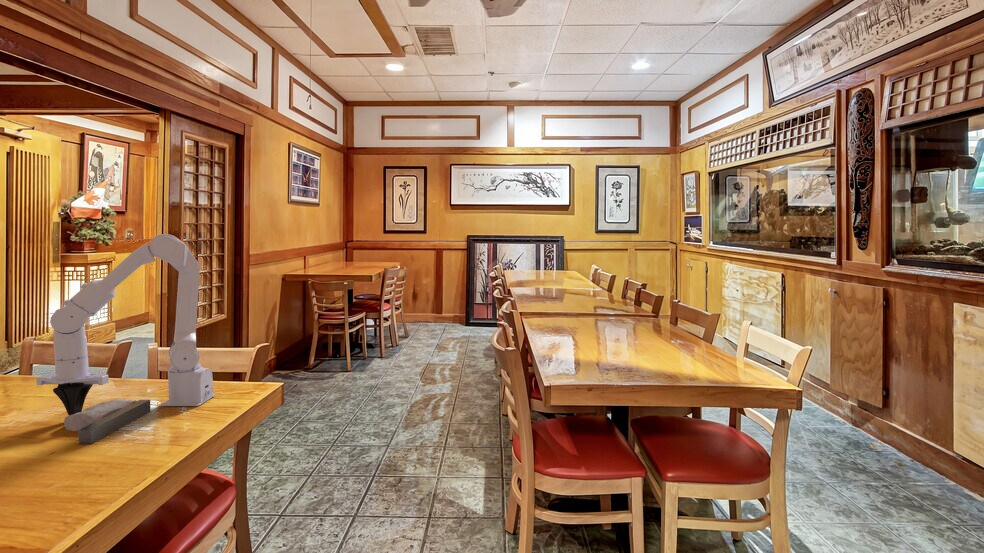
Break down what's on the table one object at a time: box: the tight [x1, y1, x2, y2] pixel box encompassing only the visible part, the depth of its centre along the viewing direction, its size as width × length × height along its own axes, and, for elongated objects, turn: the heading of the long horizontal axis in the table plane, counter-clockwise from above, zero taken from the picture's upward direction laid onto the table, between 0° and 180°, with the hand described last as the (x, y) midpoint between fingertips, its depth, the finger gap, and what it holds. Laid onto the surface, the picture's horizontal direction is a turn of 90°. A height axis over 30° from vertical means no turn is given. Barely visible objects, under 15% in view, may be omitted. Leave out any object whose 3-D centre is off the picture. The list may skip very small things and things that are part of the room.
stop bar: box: [77, 399, 152, 445], centre depth 104 cm, size 2×18×3 cm, turn 3°
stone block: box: [63, 398, 138, 432], centre depth 107 cm, size 12×5×10 cm
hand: (75, 414), depth 107 cm, fingers closed
